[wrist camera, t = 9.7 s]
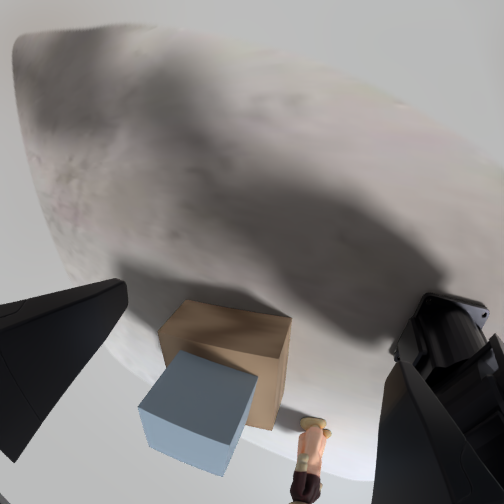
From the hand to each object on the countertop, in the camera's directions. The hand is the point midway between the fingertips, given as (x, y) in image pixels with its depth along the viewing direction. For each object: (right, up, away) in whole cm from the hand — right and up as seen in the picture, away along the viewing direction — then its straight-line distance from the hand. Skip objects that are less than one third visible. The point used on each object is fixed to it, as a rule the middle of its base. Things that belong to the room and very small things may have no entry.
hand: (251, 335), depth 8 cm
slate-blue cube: (-3, -8, +13) cm, 15 cm away
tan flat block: (-1, -6, +17) cm, 18 cm away
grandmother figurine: (+7, -17, +19) cm, 26 cm away
